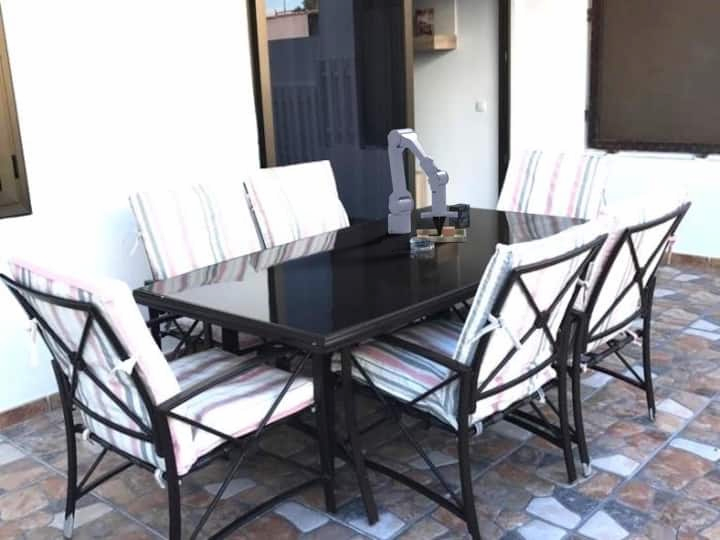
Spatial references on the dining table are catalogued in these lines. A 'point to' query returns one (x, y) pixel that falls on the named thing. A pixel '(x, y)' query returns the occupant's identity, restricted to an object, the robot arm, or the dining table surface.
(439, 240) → the tray
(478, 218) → the dining table surface
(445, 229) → the block
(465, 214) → the box
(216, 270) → the dining table surface
